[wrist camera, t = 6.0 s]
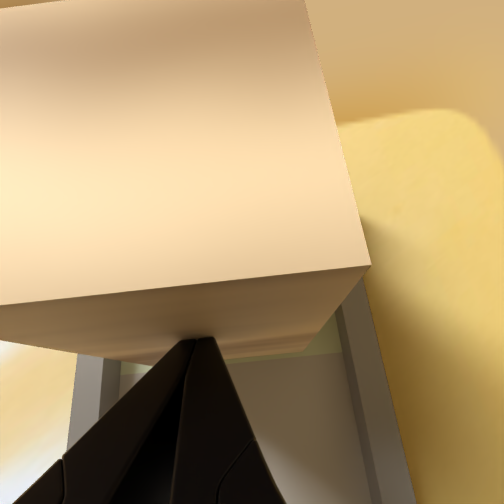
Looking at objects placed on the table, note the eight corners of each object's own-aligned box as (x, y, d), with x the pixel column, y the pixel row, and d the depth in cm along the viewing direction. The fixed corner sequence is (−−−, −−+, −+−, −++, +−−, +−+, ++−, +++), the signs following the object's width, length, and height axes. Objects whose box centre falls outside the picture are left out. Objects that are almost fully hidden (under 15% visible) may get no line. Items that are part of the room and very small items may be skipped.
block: (303, 351, 13) (371, 263, 4) (155, 366, 13) (-123, 318, 4) (283, 220, 15) (296, -31, 6) (158, 234, 15) (-12, 10, 6)
